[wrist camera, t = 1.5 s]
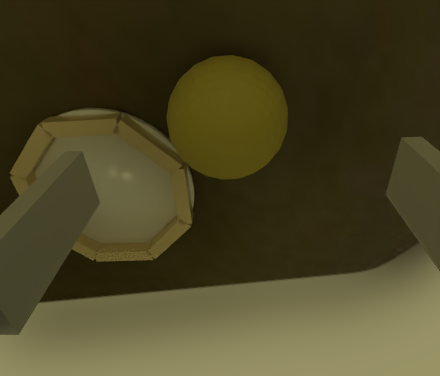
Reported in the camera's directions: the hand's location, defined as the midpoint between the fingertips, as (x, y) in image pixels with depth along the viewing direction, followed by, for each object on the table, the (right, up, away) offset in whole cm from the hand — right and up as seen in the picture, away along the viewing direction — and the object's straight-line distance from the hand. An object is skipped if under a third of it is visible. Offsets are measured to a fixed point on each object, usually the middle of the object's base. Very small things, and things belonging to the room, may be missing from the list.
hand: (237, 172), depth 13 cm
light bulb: (0, +7, +10) cm, 12 cm away
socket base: (-11, -1, +15) cm, 18 cm away
